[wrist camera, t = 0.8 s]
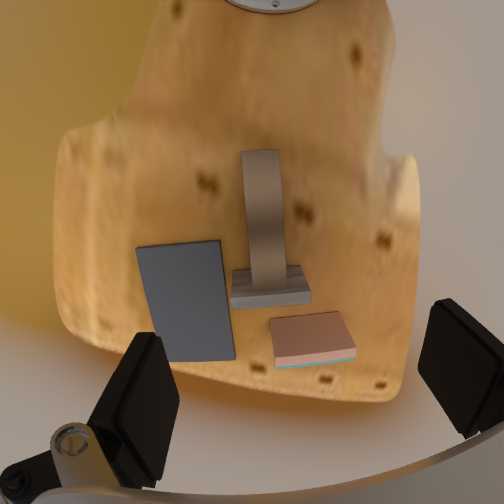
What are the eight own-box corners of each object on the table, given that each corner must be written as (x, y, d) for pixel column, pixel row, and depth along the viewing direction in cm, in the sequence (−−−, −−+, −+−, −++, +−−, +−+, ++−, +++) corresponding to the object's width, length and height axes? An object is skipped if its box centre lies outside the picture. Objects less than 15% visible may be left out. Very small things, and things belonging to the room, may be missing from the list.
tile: (270, 318, 33) (274, 357, 27) (338, 311, 33) (356, 347, 26) (270, 329, 34) (275, 369, 27) (337, 322, 33) (354, 359, 27)
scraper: (221, 153, 27) (213, 154, 21) (294, 148, 27) (306, 147, 21) (234, 281, 31) (231, 310, 26) (300, 275, 31) (310, 303, 26)
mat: (137, 247, 30) (135, 249, 29) (219, 239, 30) (219, 241, 29) (165, 358, 35) (164, 361, 34) (235, 357, 35) (235, 360, 34)
